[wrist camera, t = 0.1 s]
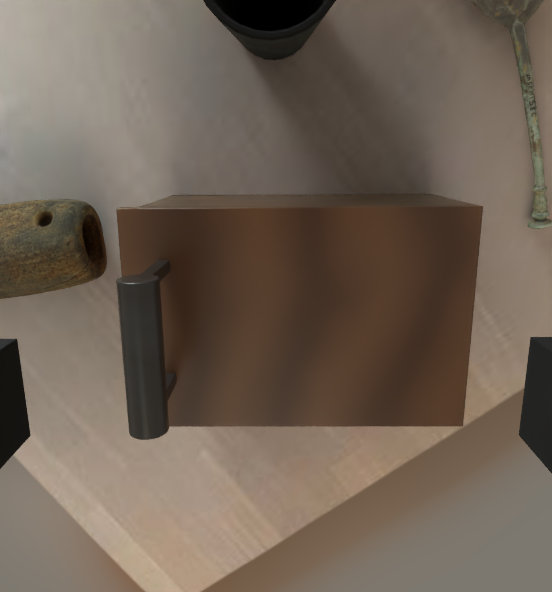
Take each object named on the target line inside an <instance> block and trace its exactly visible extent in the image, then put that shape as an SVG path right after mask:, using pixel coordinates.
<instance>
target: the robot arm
mask: <svg viewBox="0 0 552 592" xmlns="http://www.w3.org/2000/svg"><path fill="white" fill-rule="evenodd" d="M519 436H520V437H521V438H522V439H523V440H524V442H525V443H526V444H527V445H528V446H529V447H530V449H531V450H532V451H533V452H534V453H535V454H536V456H537V457H538V458H539V459H540V460H541V461H542V463H543V464H544V465H545V466H546V467H547V468H548V470H549V471H550V472H551V473H552V337H531V339H530V347H529V355H528V364H527V372H526V380H525V388H524V397H523V405H522V414H521V422H520V430H519ZM29 437H30V429H29V421H28V414H27V407H26V400H25V392H24V385H23V378H22V371H21V364H20V356H19V349H18V342H17V339H0V468H1V467H2V466H3V465H4V464H5V463H6V462H7V461H8V460H9V458H10V457H11V456H12V455H13V454H14V453H15V452H16V451H17V450H18V449H19V448H20V446H21V445H22V444H23V443H24V442H25V441H26V440H27V439H28V438H29Z"/></svg>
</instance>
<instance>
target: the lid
mask: <svg viewBox="0 0 552 592" xmlns="http://www.w3.org/2000/svg"><path fill="white" fill-rule="evenodd" d="M482 212H483V207H482V206H479V205H434V206H259V207H120V208H117V222H118V234H119V246H120V258H121V270H122V277H121V278H119V279H117V281H116V283H117V295H118V306H119V318H120V330H121V341H122V353H123V365H124V377H125V388H126V400H127V412H128V423H129V433H130V435H131V436H132V437H134V438H136V439H141V440H148V439H154V438H158V437H160V436H162V435H164V434H165V433H166V432H167V431H168V429H169V426H463V419H464V408H465V397H466V386H467V376H468V365H469V354H470V343H471V332H472V321H473V310H474V299H475V288H476V278H477V267H478V256H479V245H480V234H481V223H482Z"/></svg>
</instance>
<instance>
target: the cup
mask: <svg viewBox="0 0 552 592" xmlns="http://www.w3.org/2000/svg"><path fill="white" fill-rule="evenodd" d="M335 1H336V0H204V2H205V4H206V6H207V7H208V8H209V9H210V11H211V12H212V13H213V14H214V15H215V16H216V17H217V18H218V20H219V21H220V22H221V23H222V24H223V25H224V26H225V27H226V28H227V29H228V30H229V31H230V32H231V33H232V34H233V35H234V36H235V37H236V38H237V39H238V40H239V41H240V42H241V43H242V44H243V45H244V46H245V47H246V48H247V49H248V50H249V51H250V52H251V53H253V54H254V55H256V56H258V57H261V58H263V59H268V60H279V59H284V58H286V57H289V56H291V55H293V54H294V53H296V52H297V51H298V50H299V49H301V47H302V46H303V45H304V43H305V42H306V41H307V39H308V38H309V37H310V35H311V34H312V33H313V31H314V30H315V29H316V27H317V26H318V24H319V23H320V22H321V20H322V19H323V18H324V16H325V15H326V13H327V12H328V11H329V9H330V8H331V7H332V5H333V4H334V3H335Z"/></svg>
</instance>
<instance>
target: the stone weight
mask: <svg viewBox="0 0 552 592" xmlns="http://www.w3.org/2000/svg"><path fill="white" fill-rule="evenodd" d="M106 265H107V256H106V249H105V243H104V237H103V232H102V227H101V223H100V220H99V217H98V215H97V213H96V211H95V210H94V208H93V207H92V206H91V205H89V204H88V203H86V202H82V201H77V200H69V199H64V200H36V201H27V202H18V203H12V204H5V205H0V299H3V298H11V297H19V296H27V295H33V294H39V293H44V292H48V291H54V290H58V289H64V288H68V287H72V286H76V285H79V284H83V283H86V282H89V281H92V280H94V279H97V278H99V277H100V276H101V275H102V274H103V273H104V271H105V269H106Z"/></svg>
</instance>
